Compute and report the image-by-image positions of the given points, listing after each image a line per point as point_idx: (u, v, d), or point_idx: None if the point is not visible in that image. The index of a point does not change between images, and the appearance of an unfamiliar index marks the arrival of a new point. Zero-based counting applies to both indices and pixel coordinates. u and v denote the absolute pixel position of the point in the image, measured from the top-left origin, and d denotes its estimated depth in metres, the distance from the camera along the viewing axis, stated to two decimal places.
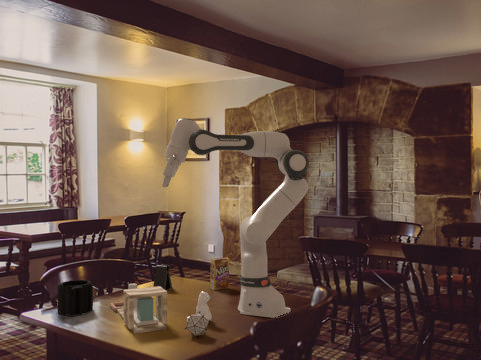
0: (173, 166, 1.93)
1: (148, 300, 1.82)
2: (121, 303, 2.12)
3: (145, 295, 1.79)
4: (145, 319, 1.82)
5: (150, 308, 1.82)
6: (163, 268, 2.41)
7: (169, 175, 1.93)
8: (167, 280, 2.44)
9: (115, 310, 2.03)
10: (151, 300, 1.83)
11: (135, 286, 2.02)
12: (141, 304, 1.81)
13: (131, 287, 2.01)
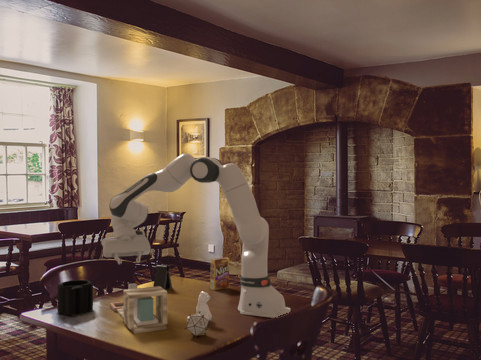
0: (103, 245, 2.09)
1: (148, 300, 1.82)
2: (121, 303, 2.12)
3: (145, 295, 1.79)
4: (145, 319, 1.82)
5: (150, 308, 1.82)
6: (163, 268, 2.41)
7: (104, 253, 2.06)
8: (167, 280, 2.44)
9: (115, 310, 2.03)
10: (151, 300, 1.83)
11: (135, 286, 2.02)
12: (141, 304, 1.81)
13: (131, 287, 2.01)
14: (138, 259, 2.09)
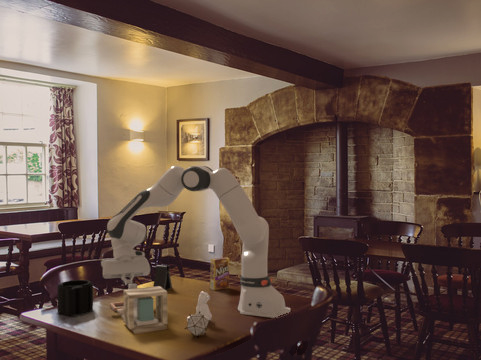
0: (103, 266, 2.09)
1: (148, 300, 1.82)
2: (121, 303, 2.12)
3: (145, 295, 1.79)
4: (145, 319, 1.82)
5: (150, 308, 1.82)
6: (163, 268, 2.41)
7: (104, 274, 2.07)
8: (167, 280, 2.44)
9: (115, 310, 2.03)
10: (151, 300, 1.83)
11: (135, 286, 2.02)
12: (141, 304, 1.81)
13: (131, 287, 2.01)
14: (130, 281, 2.08)
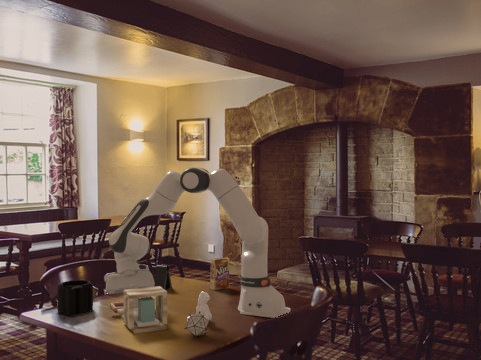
0: (106, 281, 2.04)
1: (149, 301, 1.80)
2: (121, 303, 2.12)
3: (145, 295, 1.79)
4: (146, 320, 1.80)
5: (151, 309, 1.81)
6: (163, 268, 2.41)
7: (107, 290, 2.02)
8: (167, 280, 2.44)
9: (115, 310, 2.03)
10: (152, 301, 1.81)
11: (136, 287, 2.00)
12: (142, 305, 1.79)
13: (132, 288, 1.99)
14: None
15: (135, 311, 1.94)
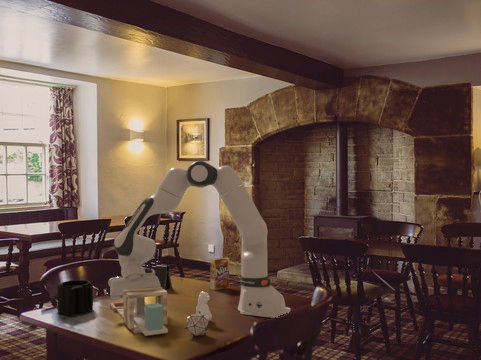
0: (111, 286, 1.94)
1: (157, 308, 1.71)
2: (121, 303, 2.12)
3: (145, 295, 1.79)
4: (154, 328, 1.71)
5: (159, 317, 1.71)
6: (163, 268, 2.41)
7: (112, 295, 1.92)
8: (167, 280, 2.44)
9: (115, 310, 2.03)
10: (160, 308, 1.72)
11: None
12: (149, 312, 1.70)
13: None
14: None
15: (141, 318, 1.85)
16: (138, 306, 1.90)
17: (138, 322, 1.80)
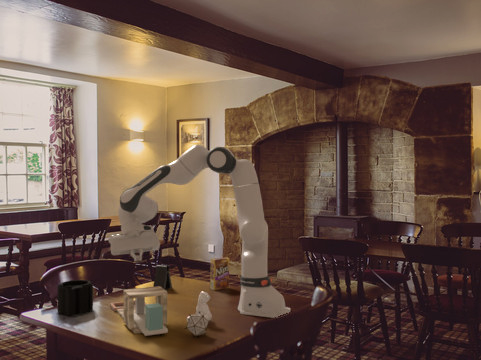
0: (111, 243, 2.01)
1: (157, 308, 1.71)
2: (121, 303, 2.12)
3: (145, 295, 1.79)
4: (154, 328, 1.71)
5: (159, 317, 1.71)
6: (163, 268, 2.41)
7: (112, 251, 1.99)
8: (167, 280, 2.44)
9: (115, 310, 2.03)
10: (160, 308, 1.72)
11: None
12: (149, 312, 1.70)
13: None
14: (139, 257, 2.00)
15: (141, 318, 1.85)
16: (138, 306, 1.90)
17: (138, 322, 1.80)
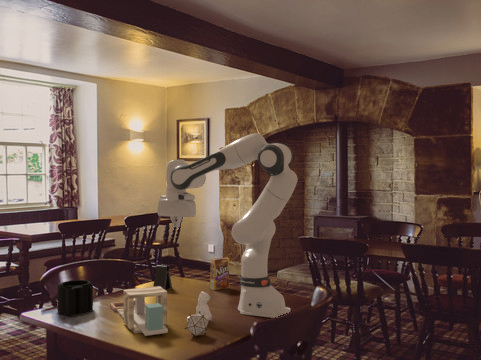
0: None
1: (157, 308, 1.71)
2: (121, 303, 2.12)
3: (145, 295, 1.79)
4: (154, 328, 1.71)
5: (159, 317, 1.71)
6: (163, 268, 2.41)
7: None
8: (167, 280, 2.44)
9: (115, 310, 2.03)
10: (160, 308, 1.72)
11: None
12: (149, 312, 1.70)
13: None
14: (176, 225, 2.16)
15: (141, 318, 1.85)
16: (138, 306, 1.90)
17: (138, 322, 1.80)
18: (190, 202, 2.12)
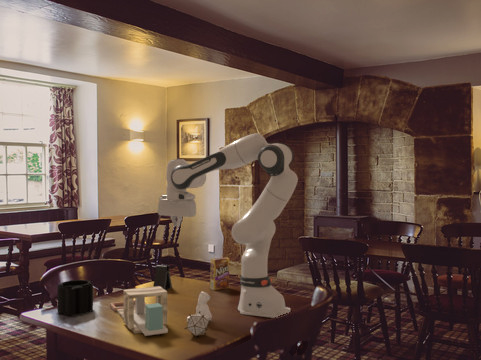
0: None
1: (157, 308, 1.71)
2: (121, 303, 2.12)
3: (145, 295, 1.79)
4: (154, 328, 1.71)
5: (159, 317, 1.71)
6: (163, 268, 2.41)
7: None
8: (167, 280, 2.44)
9: (115, 310, 2.03)
10: (160, 308, 1.72)
11: None
12: (149, 312, 1.70)
13: None
14: (176, 224, 2.17)
15: (141, 318, 1.85)
16: (138, 306, 1.90)
17: (138, 322, 1.80)
18: (190, 202, 2.12)
